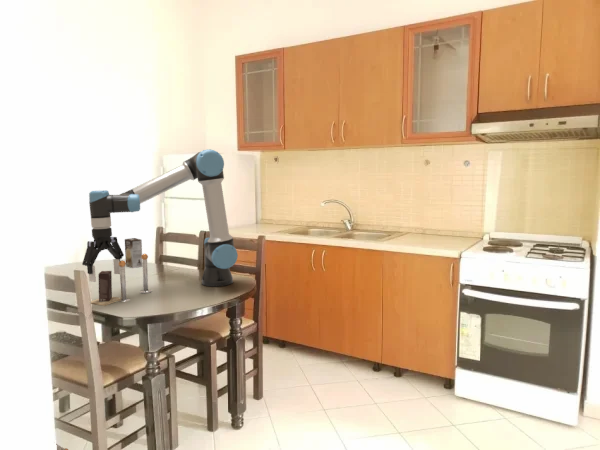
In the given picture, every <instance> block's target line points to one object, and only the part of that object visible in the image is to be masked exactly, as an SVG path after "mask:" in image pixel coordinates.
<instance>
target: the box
mask: <svg viewBox="0 0 600 450" xmlns="http://www.w3.org/2000/svg"><path fill="white" fill-rule="evenodd" d="M112 279H113V278H112V270H101V271H100V272H99V273H98V299H99V302H106V301H110V299H111V298H112V297H113V287H112V285H113V283H112Z"/></svg>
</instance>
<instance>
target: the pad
mask: <svg viewBox="0 0 600 450" xmlns="http://www.w3.org/2000/svg"><path fill="white" fill-rule="evenodd" d="M119 300H121V297H120V296H119V297H117V296H112V298H111V299H110V301H106V302H99V298H97V299H94V300H90V301H91V304H90V305H96V306H104V307H106V306H109V305H111V304H113V303H116V302H118V301H119Z"/></svg>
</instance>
